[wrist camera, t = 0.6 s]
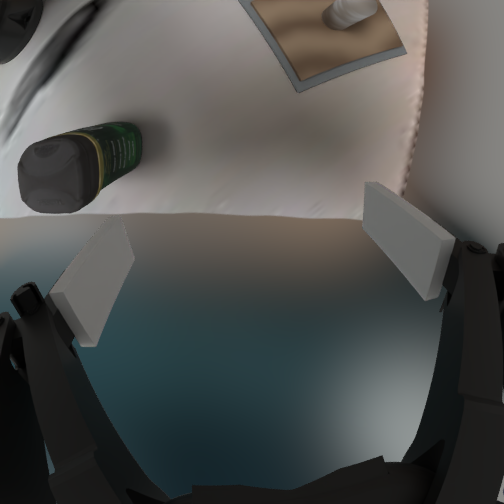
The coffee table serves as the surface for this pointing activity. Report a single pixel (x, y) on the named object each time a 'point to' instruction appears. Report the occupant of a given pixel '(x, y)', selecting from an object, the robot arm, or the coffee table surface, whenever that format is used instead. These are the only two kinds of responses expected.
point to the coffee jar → (77, 166)
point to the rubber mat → (322, 76)
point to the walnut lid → (326, 31)
